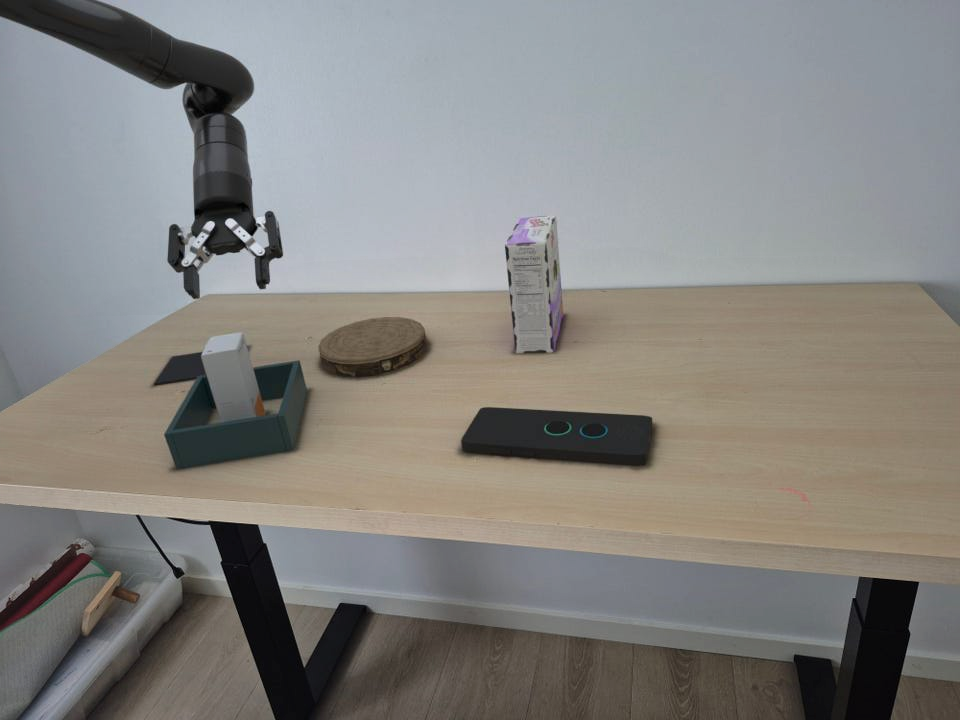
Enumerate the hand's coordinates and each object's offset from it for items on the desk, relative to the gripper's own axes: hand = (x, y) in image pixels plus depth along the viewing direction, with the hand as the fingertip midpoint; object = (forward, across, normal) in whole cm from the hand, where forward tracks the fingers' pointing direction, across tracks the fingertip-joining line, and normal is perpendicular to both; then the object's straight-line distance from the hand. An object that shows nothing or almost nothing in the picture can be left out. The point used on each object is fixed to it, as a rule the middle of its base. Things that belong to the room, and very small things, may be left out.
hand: (227, 291), depth 90 cm
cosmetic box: (+17, 0, +5) cm, 18 cm away
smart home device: (+28, +37, -5) cm, 46 cm away
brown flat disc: (+5, +16, +17) cm, 24 cm away
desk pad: (+1, -11, +21) cm, 24 cm away
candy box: (+6, +41, +16) cm, 45 cm away
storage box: (+17, 0, +5) cm, 18 cm away
